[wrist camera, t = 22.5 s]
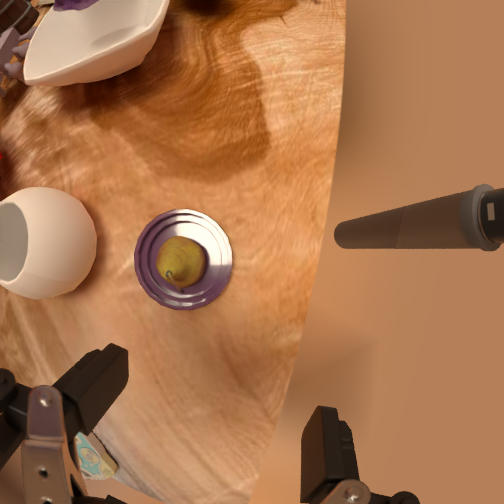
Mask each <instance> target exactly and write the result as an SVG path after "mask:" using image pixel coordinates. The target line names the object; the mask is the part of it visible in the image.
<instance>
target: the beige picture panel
mask: <svg viewBox="0 0 504 504" xmlns="http://www.w3.org/2000/svg"><path fill="white" fill-rule="evenodd" d="M54 2H55V0H40V1H39V2H38V4H37V5H42V4H49V3H54Z"/></svg>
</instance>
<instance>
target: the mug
mask: <svg viewBox="0 0 504 504" xmlns="http://www.w3.org/2000/svg"><path fill="white" fill-rule="evenodd" d="M30 1H32V0H0V38H1V36H2V34H3V33H4V32H6V31H7V30H9V29H11V28H13V27H14V28H15V29H16V31H17V32H18V33H19V34H20V35H21V36H22V35H23V34H24V33H25V32H26V31H27V30H28V29H29V28H30V27H31V26H32V25H33V24H34V23H35V21H36V19H37V17H38V15H39V13H38V11H37V10H36V9H35V7H32V5H31V3H30Z"/></svg>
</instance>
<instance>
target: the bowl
mask: <svg viewBox="0 0 504 504" xmlns="http://www.w3.org/2000/svg"><path fill="white" fill-rule="evenodd" d="M169 2H170V0H99V1H98V2H96V3H94V4H93V5H91V6H90V7H88V8H86V9H83V10H81V11H79V10H78V11H77V10H66V11H61V12H58V11H54V10H53V6H52V7H51V8H50V10H49V11H48V12H47V13H46V15H45V16H44V17H43V19H42V20H41V22H40V24H39V25H38V27H37V29H36V31H35V33H34V35H33V37H32V39H31V41H30V44H29V47H28V50H27V53H26V57H25V62H24V68H23V71H24V80H25V83H26V84H27V85H46V86H66V85H70V84H74V83H78V82H81V83H90V82H95V81H100V80H104V79H107V78H111V77H113V76H116V75H119V74H121V73H123V72H125V71H128V70H130V69H132V68H134V67H136V66H138V65H140V64H141V63H142V62H143V60H144V58H145V55H146V54H147V53H148V52H149V51H150V50H151V48H152V46H153V45H154V43H155V41H156V39H157V36H158V33H159V31H160V28H161V25H162V23H163V20H164V18H165V15H166V11H167V8H168V5H169Z"/></svg>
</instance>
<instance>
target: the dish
mask: <svg viewBox="0 0 504 504" xmlns="http://www.w3.org/2000/svg"><path fill="white" fill-rule="evenodd" d="M173 236H183V237H186V238H188V239H190V240H192V241H194V242H195V243H196V244H198V245H199V246H200V247H201V248H202V250H203V252H204V254H205V259H206V268H205V272H204V274H203V276H202V278H201V279H200V280H199V281H198V282H197V283H196V284H194V285H192V286H190V287H186V288H182V289H183V290H184V291H185V292H184V293H181V292H179V291H178V290H177V289H176V287H175V286H174V285H172V284H170V283H169V282H167V281H166V280H165V279H164V278H163V277H162V276H161V275H160V274H159V272H158V270H157V267H156V259H157V255H158V252H159V249H160V247H161V246H162V245H163V244H164V243H165V242H166V241H167V240H168V239H169V238H171V237H173ZM134 263H135V271H136V274H137V277H138V280H139V283H140V285H141V286H142V287H143V289H144V290H145V291H146V293H147V294H148V295H149V297H151V298H152V299H154V300H155V301H156V302H158V303H159V304H160V305H162V306H165V307H168V308H171V309H174V310H194V309H197V308H200V307H203V306H206V305H207V304H209V303H210V302H211V301H213V300H214V299H215V298H217V297H218V296H219V295H220V293H221V292H222V291H223V289H224V288H225V286H226V285H227V283H228V281H229V277H230V274H231V271H232V267H233V261H232V249H231V246H230V243H229V240H228V237H227V235H226V234H225V232H224V231H223V230H222V228H221V227H220V226H219V224H218V223H217V222H216V221H214V220H213V219H211V218H210V217H208V216H207V215H206V214H204V213H201V212H198V211H194V210H191V209H175V210H171V211H168V212H166V213H163V214H160V215H158V216H157V217H156V218H155V219H153V220H152V221H151V222H150V223H149V224H147V225H146V227H145V228H144V230H143V231H142V233H141V235H140V236H139V238H138V241H137V245H136V248H135V252H134Z"/></svg>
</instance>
